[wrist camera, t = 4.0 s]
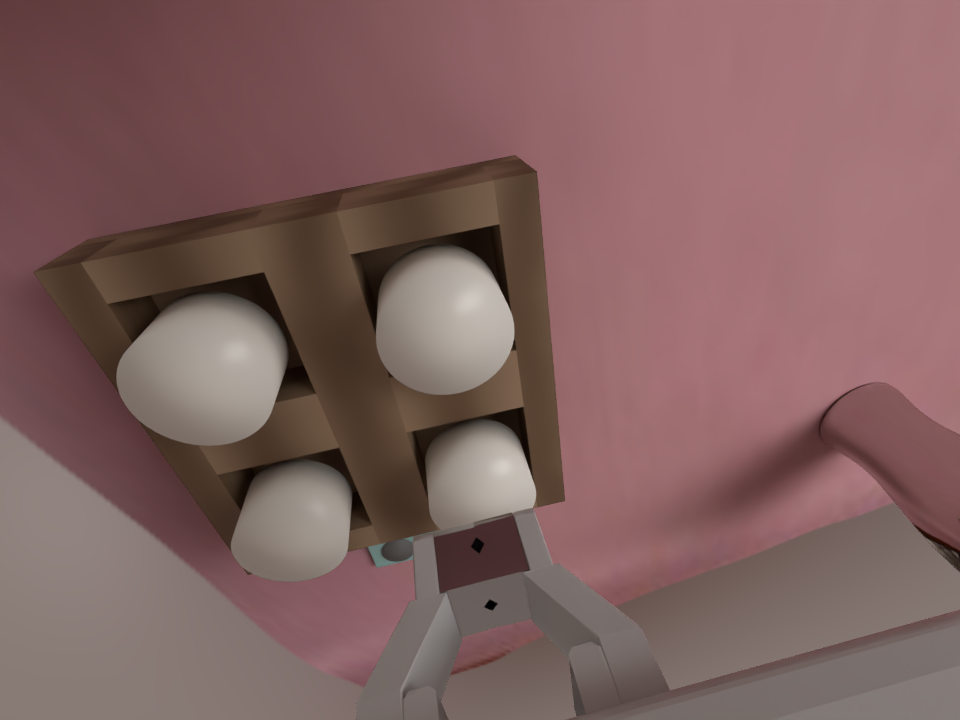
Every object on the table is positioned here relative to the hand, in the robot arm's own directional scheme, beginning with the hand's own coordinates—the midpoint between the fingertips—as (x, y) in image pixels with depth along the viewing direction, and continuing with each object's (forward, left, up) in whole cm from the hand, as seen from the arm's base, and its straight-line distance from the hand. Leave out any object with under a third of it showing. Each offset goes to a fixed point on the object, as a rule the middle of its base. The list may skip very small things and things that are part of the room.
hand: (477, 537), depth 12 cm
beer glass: (-29, +18, -17) cm, 38 cm away
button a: (0, 0, -13) cm, 13 cm away
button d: (+10, +10, -13) cm, 19 cm away
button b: (+10, 0, -13) cm, 16 cm away
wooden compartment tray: (+5, +5, -16) cm, 18 cm away
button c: (0, +10, -13) cm, 16 cm away
